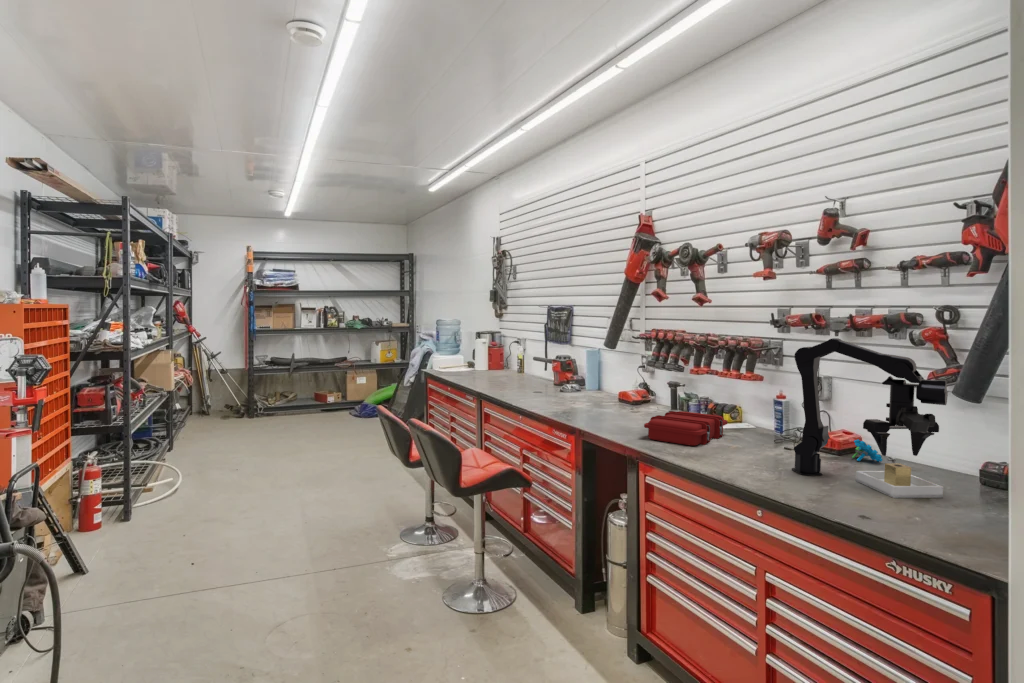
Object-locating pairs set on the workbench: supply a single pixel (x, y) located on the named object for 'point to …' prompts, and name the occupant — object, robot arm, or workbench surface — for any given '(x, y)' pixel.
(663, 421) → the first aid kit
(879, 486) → the parts tray
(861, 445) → the blue plastic figure
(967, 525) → the workbench surface
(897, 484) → the brass block
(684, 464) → the workbench surface
